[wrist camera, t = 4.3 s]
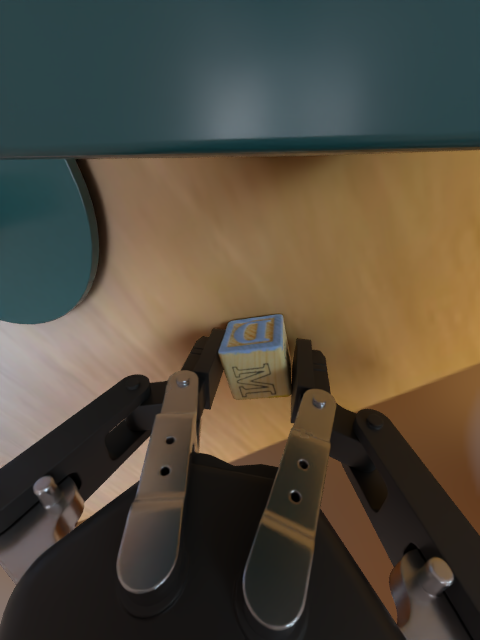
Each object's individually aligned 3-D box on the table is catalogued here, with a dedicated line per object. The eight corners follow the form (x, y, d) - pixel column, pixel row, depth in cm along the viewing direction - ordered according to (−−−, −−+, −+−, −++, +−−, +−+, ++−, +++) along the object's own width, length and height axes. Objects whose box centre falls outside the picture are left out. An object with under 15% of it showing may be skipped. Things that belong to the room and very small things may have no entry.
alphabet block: (284, 312, 14) (281, 346, 12) (292, 359, 16) (292, 399, 13) (228, 319, 15) (214, 353, 12) (241, 363, 17) (231, 401, 14)
